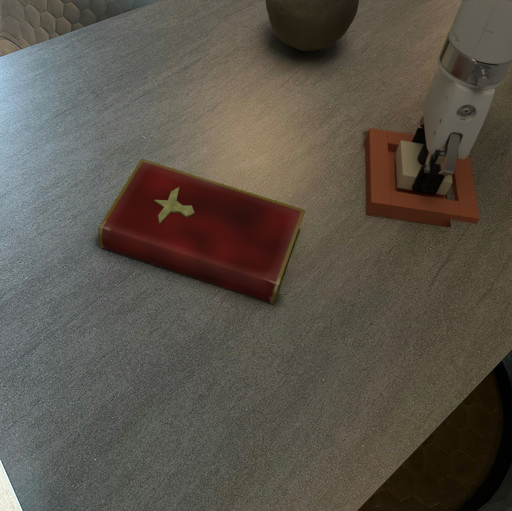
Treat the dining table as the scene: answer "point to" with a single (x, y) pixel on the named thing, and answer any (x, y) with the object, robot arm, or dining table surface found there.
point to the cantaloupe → (311, 21)
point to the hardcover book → (203, 230)
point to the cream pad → (415, 165)
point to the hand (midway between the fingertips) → (422, 170)
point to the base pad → (408, 201)
